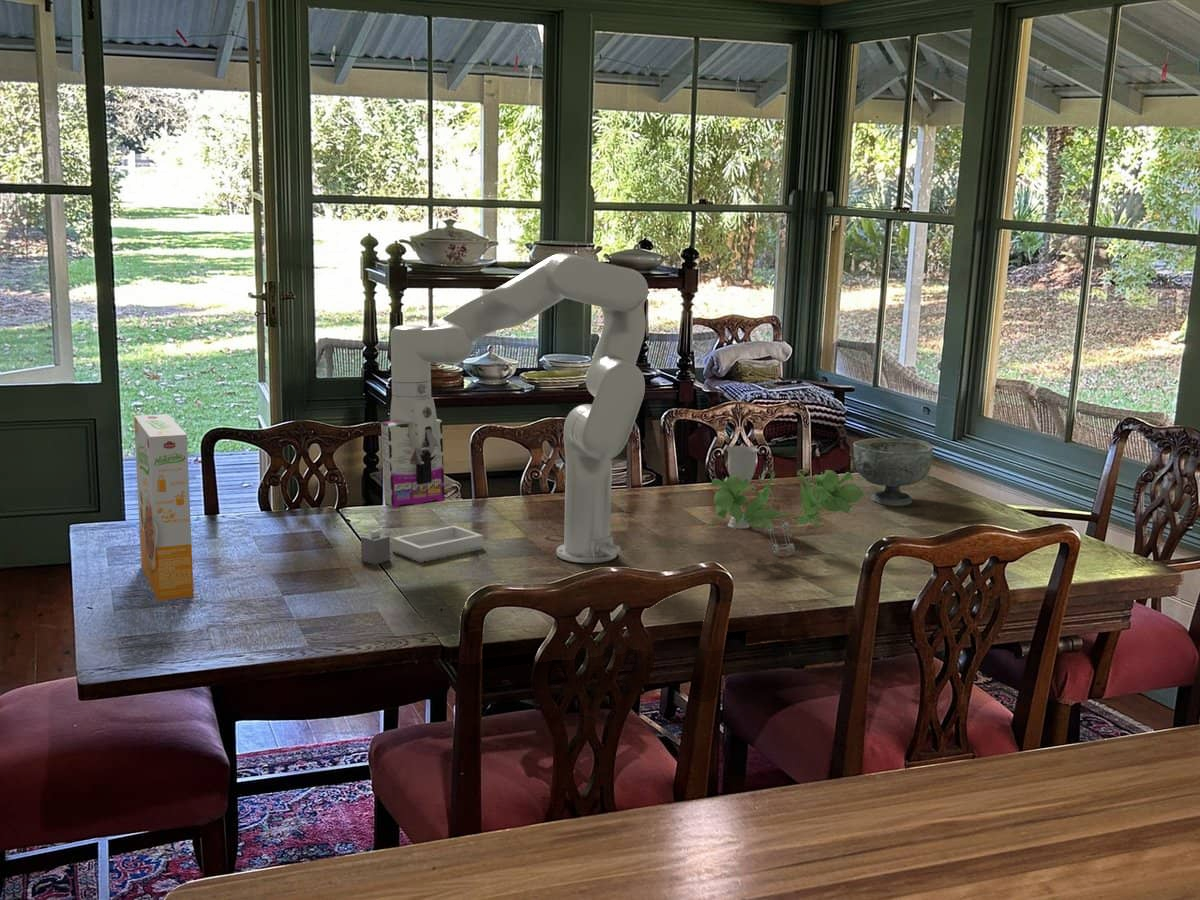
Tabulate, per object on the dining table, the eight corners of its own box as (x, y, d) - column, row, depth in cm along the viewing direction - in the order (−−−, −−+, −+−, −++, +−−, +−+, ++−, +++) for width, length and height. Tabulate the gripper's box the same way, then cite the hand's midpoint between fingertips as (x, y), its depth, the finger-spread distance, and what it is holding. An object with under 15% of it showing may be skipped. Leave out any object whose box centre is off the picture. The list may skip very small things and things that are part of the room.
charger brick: (389, 560, 249) (389, 530, 247) (375, 564, 245) (374, 534, 244) (376, 556, 251) (375, 527, 250) (361, 560, 248) (360, 531, 246)
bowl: (847, 490, 321) (851, 433, 318) (923, 494, 318) (928, 437, 315) (852, 508, 301) (856, 448, 298) (933, 513, 299) (938, 452, 296)
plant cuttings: (690, 580, 263) (727, 542, 244) (674, 507, 270) (709, 464, 251) (834, 568, 274) (880, 531, 255) (815, 498, 281) (859, 457, 262)
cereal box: (141, 566, 240) (133, 415, 234) (174, 562, 243) (168, 413, 237) (157, 600, 220) (149, 436, 214) (193, 596, 223) (186, 434, 217)
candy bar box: (435, 496, 246) (433, 416, 243) (445, 501, 242) (443, 420, 239) (382, 502, 241) (380, 420, 238) (391, 508, 237) (389, 425, 233)
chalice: (719, 527, 281) (722, 450, 277) (727, 520, 287) (731, 444, 283) (750, 531, 278) (754, 453, 274) (758, 524, 284) (762, 448, 280)
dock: (483, 549, 258) (483, 535, 257) (420, 562, 247) (420, 548, 247) (454, 538, 265) (454, 525, 264) (392, 551, 254) (392, 537, 254)
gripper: (454, 392, 234) (456, 484, 237) (400, 382, 246) (403, 470, 249) (423, 397, 228) (425, 491, 232) (369, 386, 240) (372, 476, 244)
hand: (413, 479), depth 241 cm, fingers closed on candy bar box, 5 cm apart
